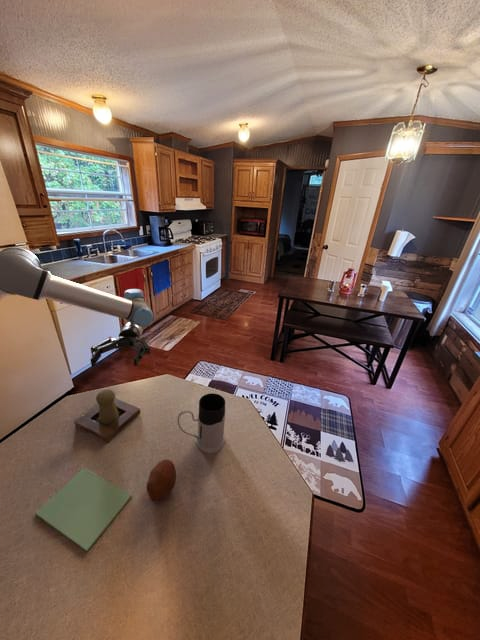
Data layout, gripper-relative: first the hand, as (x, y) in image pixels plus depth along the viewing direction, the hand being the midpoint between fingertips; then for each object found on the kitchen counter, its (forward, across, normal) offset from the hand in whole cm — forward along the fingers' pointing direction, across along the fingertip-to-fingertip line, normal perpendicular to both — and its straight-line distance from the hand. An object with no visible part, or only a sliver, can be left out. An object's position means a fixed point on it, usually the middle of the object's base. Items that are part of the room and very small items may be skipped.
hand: (113, 362), depth 85 cm
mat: (+36, -3, -15) cm, 39 cm away
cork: (+10, 0, -16) cm, 19 cm away
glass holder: (+20, -30, -16) cm, 39 cm away
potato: (+33, -20, -16) cm, 42 cm away
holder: (+10, 0, -16) cm, 18 cm away
